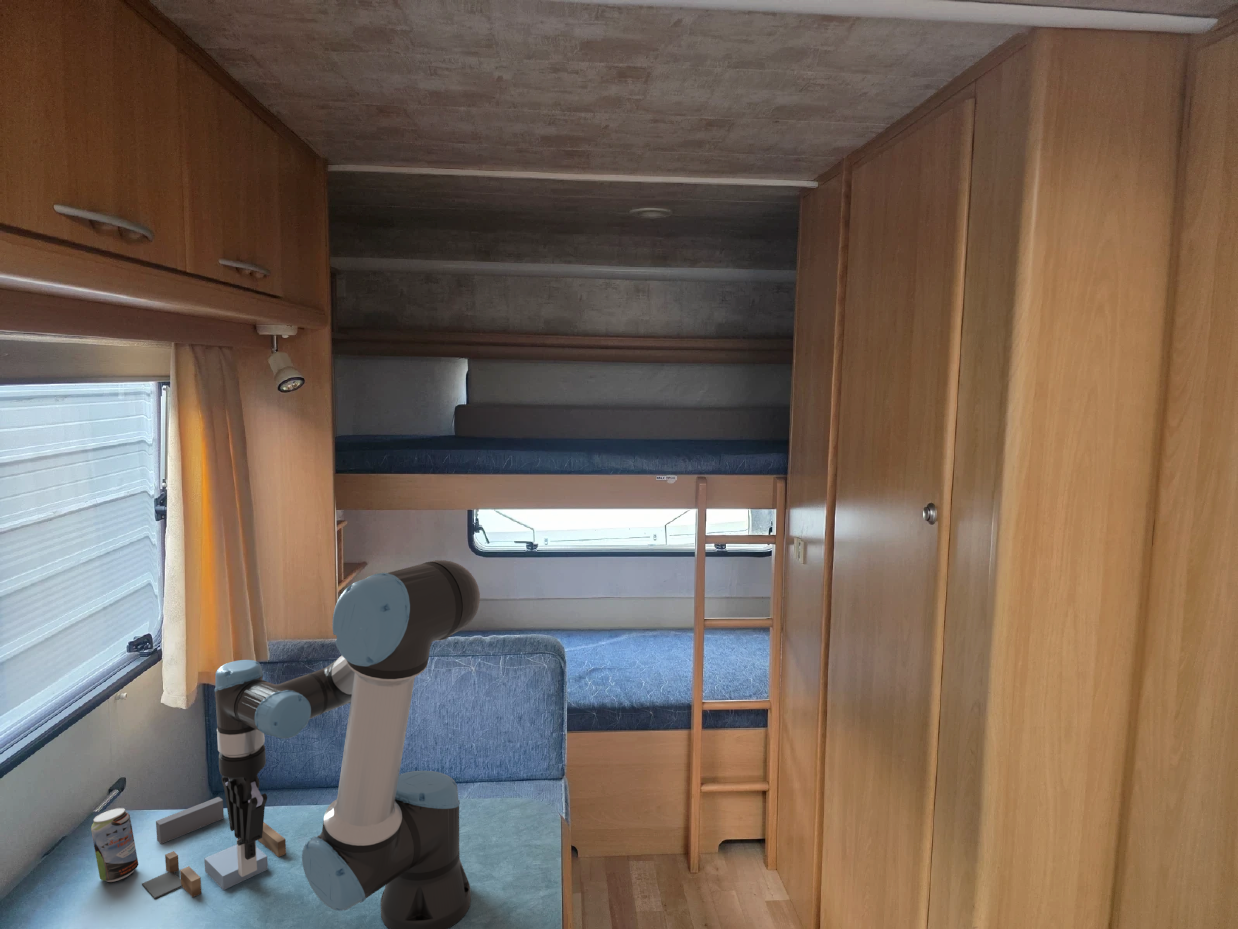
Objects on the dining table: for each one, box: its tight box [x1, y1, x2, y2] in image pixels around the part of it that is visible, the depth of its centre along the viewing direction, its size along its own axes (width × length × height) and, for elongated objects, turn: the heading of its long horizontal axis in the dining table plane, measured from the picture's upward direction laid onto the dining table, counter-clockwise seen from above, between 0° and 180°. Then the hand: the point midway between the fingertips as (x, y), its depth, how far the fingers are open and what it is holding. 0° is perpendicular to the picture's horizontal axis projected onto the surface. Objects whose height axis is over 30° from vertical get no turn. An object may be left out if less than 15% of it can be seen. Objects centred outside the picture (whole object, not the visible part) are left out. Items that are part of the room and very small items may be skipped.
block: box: [204, 843, 269, 891], centre depth 146 cm, size 8×8×3 cm
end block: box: [155, 796, 225, 845], centre depth 159 cm, size 2×12×4 cm, turn 139°
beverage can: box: [90, 807, 139, 883], centre depth 144 cm, size 6×7×12 cm
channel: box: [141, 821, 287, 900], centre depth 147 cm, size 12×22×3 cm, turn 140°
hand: (247, 871), depth 143 cm, fingers closed
